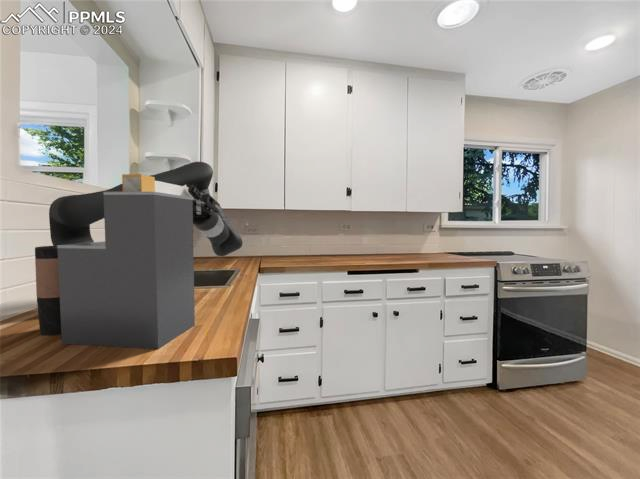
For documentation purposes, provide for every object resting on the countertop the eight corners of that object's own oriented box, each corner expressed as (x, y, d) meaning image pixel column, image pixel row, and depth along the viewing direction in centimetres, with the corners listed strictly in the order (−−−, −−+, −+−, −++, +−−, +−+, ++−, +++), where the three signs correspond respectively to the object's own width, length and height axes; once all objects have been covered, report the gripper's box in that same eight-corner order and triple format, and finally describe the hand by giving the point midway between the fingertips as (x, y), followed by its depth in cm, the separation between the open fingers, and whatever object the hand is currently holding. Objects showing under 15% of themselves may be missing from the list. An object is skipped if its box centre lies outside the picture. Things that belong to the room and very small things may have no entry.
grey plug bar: (122, 192, 60) (122, 174, 60) (184, 200, 82) (183, 187, 81) (141, 192, 59) (141, 174, 59) (198, 200, 81) (198, 187, 81)
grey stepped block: (61, 343, 62) (54, 192, 60) (114, 321, 76) (110, 197, 74) (158, 349, 60) (154, 191, 58) (194, 325, 74) (192, 197, 72)
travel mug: (45, 338, 65) (40, 248, 64) (33, 331, 69) (29, 246, 68) (86, 328, 71) (83, 246, 70) (74, 322, 75) (70, 244, 74)
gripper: (188, 210, 93) (157, 176, 78) (231, 210, 92) (208, 175, 76) (182, 231, 90) (148, 199, 75) (227, 231, 88) (201, 199, 73)
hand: (179, 187), depth 76 cm, fingers open, 5 cm apart
